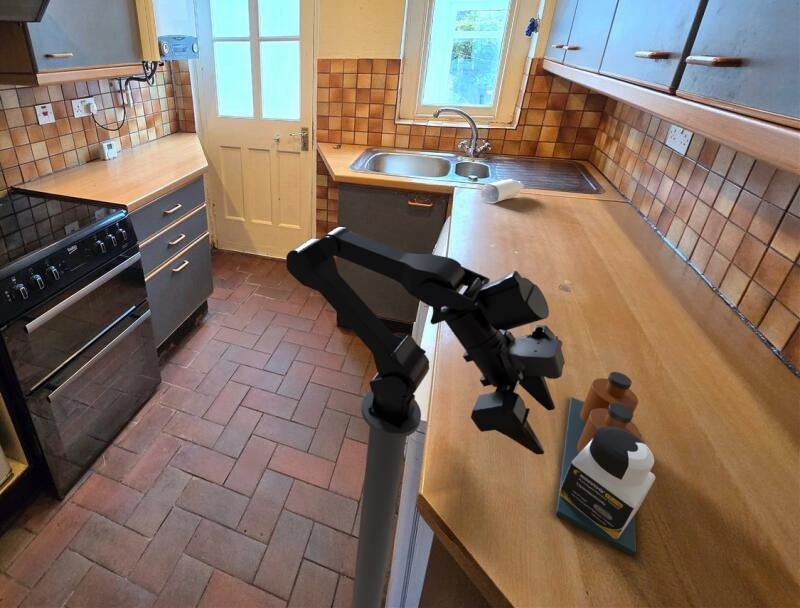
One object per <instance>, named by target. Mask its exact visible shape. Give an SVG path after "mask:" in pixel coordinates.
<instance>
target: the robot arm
mask: <svg viewBox="0 0 800 608" xmlns="http://www.w3.org/2000/svg"><path fill="white" fill-rule="evenodd" d="M336 257H338V258H340V259H343V260H344V261H348V262H350V263H352V264H354V265H357V266H359V267H361V268H364V269H366V270H369V271H371V272H374V273H376V274H379V275H381V276H384V277H386V278H388V279H391V280H393V281H395V282H396V283H398V284H400V285H401V286H402V287H403V288H404V290H405V291H406V292H407V294H408V295H410V296H412V297H413V298H415V299H417V300H418V301H420V302H422V303H423V304H425V305H426V306H428V307H431V308H432V315H431V318H430V321H429V322H430V324H431V325H436V324H439V323H442V322H445V323H446V325H447V326H448V328H449V329H450V330H451V332H452V333H453V334H454V336H455V338H456V339H457V341H458V342H459V344H460V345H461V346H462V347H463V349H464V350H465V351H464V353H463V355H462V357H463V359H464V360H465V362H466V363H469V362H470V363H471V362H473V363H474V365H475V366H476V368H477V369H478V370H479V371H480V373H481V377H480V379H479V382H480V383H481V385H482V386H483V387H488V386H492V387H493V388H495V391H494V392H488V393H483V394H479V396H478V397H477V400H476V402H475V403H474V406H473V408H472V410H471V415H470V419H471V420H472V422H473V423H474V425H475V427H476V428H477V429H478V430H479V431H480V432H481V433H483V432H491V431H495V432H498V433H500V434H502V435H504V436H506V437H507V438H509V439H511V440H513V441H514V442H516V443H518V444H519V445H521V446H522V447H524V448H525V449H527V450H529V451H530V452H531V453H533V454H535V455H537V456H538V455H539V456H541V455H544V454H545V449H544V448H543V446H542V444H541V442H540V440H539V438H538V437H537V435H536V433H535V431H534V429H533V428H532V426H531V424H530V423H529V421H528V417H529V414H530V411H531V410H530V407H527V408H526V404H525V401H524V399H523V398H522V397H521V395H520V394H519V393H518V392H517V390H518V387H519V386H520V387H522V389H524V390H525V392H527V393H528V394H529V395H530V396H531V397H532V398H533V399H534V400H535V401H536V402H537V403H538V404H540V405H541V406H542V407H543V408H544V409H546V410H547V411H555V408H556V405H555V403H554V400H553V398H552V396H551V395H552V394H551V391H550V389H549V387H548V384H547V381H546V378H547V379H549V380H550V379H551V380H555V379H560V378H561V377H562V375H563V370H564V365H565V364H566V361H565V357H564V354H563V349H562V347H563V341H562V340H560V339H559V336H558V335H555V333H554V332H552V330H551V329H550V328H549V327H548V326H547V325H546V324H536V325H534V328H533V330H532V333H531V334H530V333H529V334H525V335H522V336H518V337H515V336H514V335H513V333H512V332H511V331H509V330H513V329H515V328H520V327H523V326H525V325H530V324H533V323H535V322H539V321H543V320H546V319H548V318H549V316H550V309H549V305H548V302H547V299H546V297H545V295H544V293H543V292H542V290H541V289H540V287H539V286H538V285H537V284H534V283H533V281H532V280H530V279H529V278H527V277H522V276H521V274H520V273H519V271H517V270H514V271H511V272H509V273H507V274H506V275H504V276H503V277H500V278H498V279H495V280H493V281H491V279H490V278H489V277H487V276H485V275H482V274H481V273H478V272H475V271H473V270H471V269H469V268H466V267H465V266H462V264H461V262H459V261H458V260H456V259H454V258H453V257H448V256H443V255H437V254H433V253H410V252H406V251H405V250H401V249H398V248H395V247H393V246H390V245H387V244H385V243H382V242H379V241H377V240H374V239H371V238H368V237H365V236H363V235H360V234H357V233H355V232H352V231H350V229H348V228H346V227H336V228H334V229H333V230H331V231H330V232H328V233H326V234H325V235H324V236H323V237H322V238H321V239H318V238H317V239H315V238H311V239H308V240H306V241H305V242H303V243H301V244H300V245H298V246H296V247H295V248H293V249H291V250H290V251H289V252H288V253H287V254H286V257H285V263H286V265H285V267H286V270H287V271H288V273H289V274H290V276H292V277H293V278H294V279H296V281H298V282H299V284H301V285H302V286H303V287H306V288H309V289H311V290H314V291H317V292H318V293H320V295H321V296H322V297H323V298H324V299H325V301H326V302H327V303H328V304H329V305H330V306H331V307H332V309H333V310H334V311H335V313H337V314H338V315H339V316H340V318H341V319H342V320H343V321H344V322H345V324H347V326H348V327H349V328H350V329H351V331H352V332H354V334H355V335H356V336H357V337H358V339H360V341H361V342H362V343H363V344H364V345H365V346H366V348H367V349H369V351H370V352H371V354H372V357H373V361H374V364H375V369H376V374H375V375H374V376H373V377H372V378H371V380H370V381H369V386H370V387H369V388H370V389H371V391H372V393H373V402H372V404H371V405H370V407H369V409H368V411H369V412H370V413H371V414H373V415H375V416H377V417H379V418H381V419H383V420H384V421H386V422H388V423H390V424H392V425H394V426H396V427H398V428H402V426H403V424H404V422H405V420H408V419H409V417H410V415H411V414H412V412H413V407H414V401H415V400H416V394H415V393H416V391H417V389H418V388H419V386H421V384H422V382H423V380H424V379H425V378H426V376H427V375H428V373H429V370H430V360H429V358H428V357H427V355H426V353H427V351H426V350H425V349H423V348H422V347H421V346H420V345H418V344H417V342H416V341H415V339H414V338H413V336H411V335H409V334H408V335H406V336H405V338H404V337H402V336H399V335H396V334H394V333H393V332H391V331H390V329H389V328H388V327H387V326H386V325H385V324H384V322H382V321H381V319H380V318H379V317H378V316H377V315H376V314H375V312H374V311H373V310H372V309H371V308H370V307H369V306H368V305H367V304H366V303H365V301H364V300H363V299H362V298H361V297H360V296H359V295H358V293H356V292H355V290H354V289H353V288H352V286H350V285H349V284H348V283H347V281H346V280H345V279H344V278H343V277H342V276H341V274H340V273H339V270H338V265H337V262H336ZM464 287H466V289H465V290H464V291H463V293H460V292H461V290H462V289H463V288H464Z"/></svg>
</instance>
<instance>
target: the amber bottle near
mask: <svg viewBox="0 0 800 608" xmlns="http://www.w3.org/2000/svg"><path fill="white" fill-rule="evenodd" d="M633 418H634V413H632V411H631V410H630V409H629V408H627V407H626V406H624V405H622V404H619V403H611V404H609V407H608V409H603V408H598V409H594V410H593V411H591V413H590V415H589V418H588V420H587V422H586V425H585V427H584V430H583V432H582V435H581V437H580V439H579V442H578V444H577V450H578V453H580V452H581V451H582V450H583V449H584V448H585V447H586V446H587V444H588V443H589V442H590V441H591V440H592V439H593V437H594V435H595V433H596V431H597V430H598V429H599V428H601V427H608V426H610V427H617V428H620V429H623V430H626V431H628V432H630V433H632V434H633V435H635V436H636V437H638V438H639V439H640V440H641V432H640V430H639V428H638V426H636V424H635V423H634V422H633V421H632V420H633Z"/></svg>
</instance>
